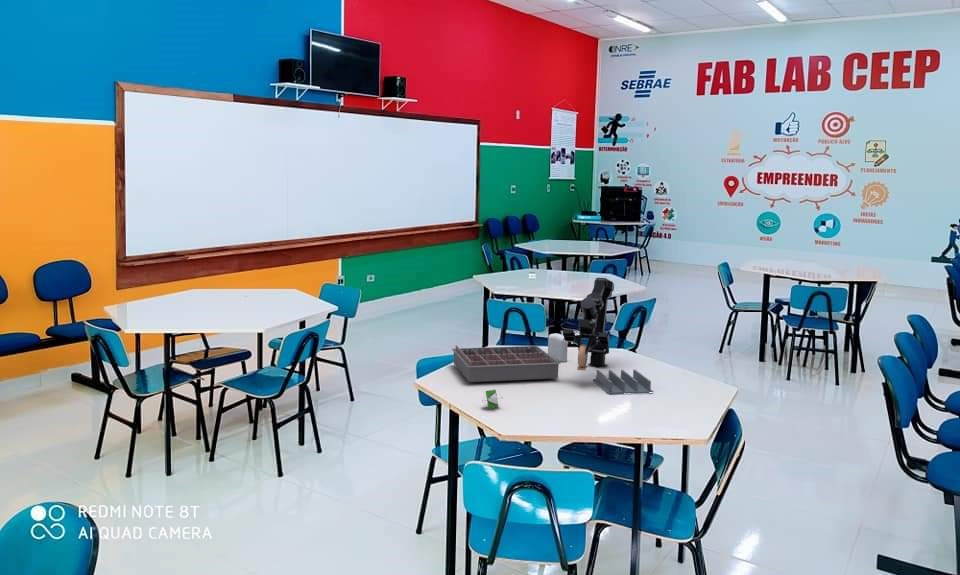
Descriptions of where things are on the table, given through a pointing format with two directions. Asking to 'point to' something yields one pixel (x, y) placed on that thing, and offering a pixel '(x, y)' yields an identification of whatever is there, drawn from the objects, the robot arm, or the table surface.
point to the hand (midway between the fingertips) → (582, 353)
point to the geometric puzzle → (492, 398)
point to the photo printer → (557, 347)
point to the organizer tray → (505, 363)
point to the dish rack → (623, 383)
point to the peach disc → (582, 358)
